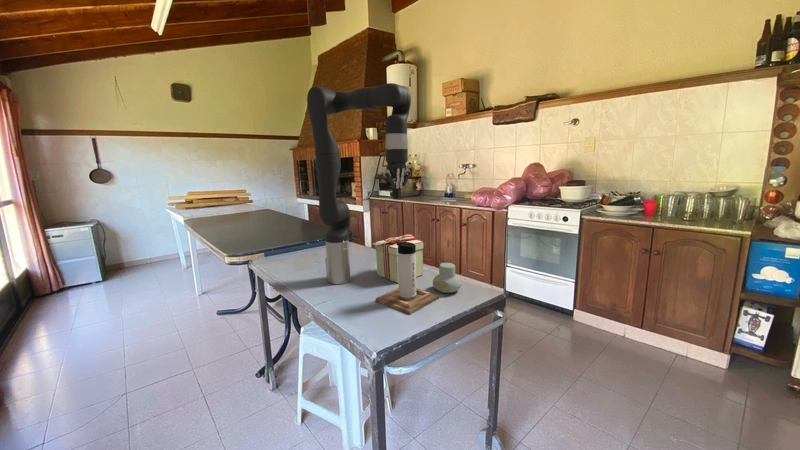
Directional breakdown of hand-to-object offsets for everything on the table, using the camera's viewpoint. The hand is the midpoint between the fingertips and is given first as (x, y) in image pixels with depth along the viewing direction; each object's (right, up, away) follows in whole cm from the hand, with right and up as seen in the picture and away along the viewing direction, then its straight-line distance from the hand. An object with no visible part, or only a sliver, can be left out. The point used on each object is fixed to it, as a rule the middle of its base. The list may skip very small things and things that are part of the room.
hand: (396, 198), depth 113 cm
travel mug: (+4, -35, +2) cm, 35 cm away
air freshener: (+19, -34, +10) cm, 40 cm away
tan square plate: (+4, -36, +2) cm, 36 cm away
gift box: (0, -31, +27) cm, 41 cm away
